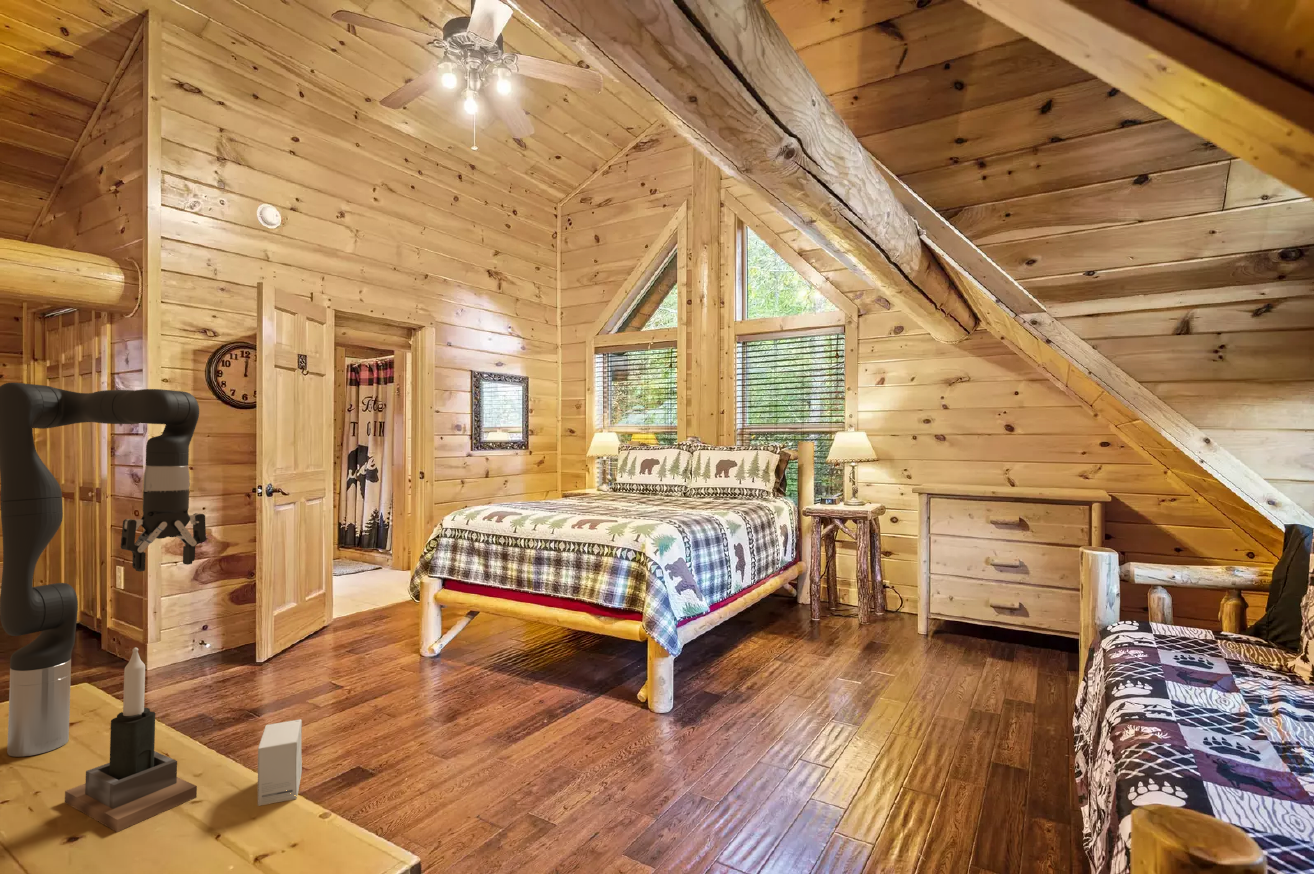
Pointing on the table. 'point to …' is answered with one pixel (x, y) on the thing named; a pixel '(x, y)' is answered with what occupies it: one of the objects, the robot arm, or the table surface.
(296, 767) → the skincare box
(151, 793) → the socket board
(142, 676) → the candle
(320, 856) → the table surface
